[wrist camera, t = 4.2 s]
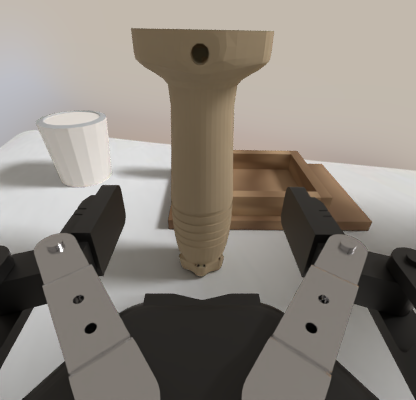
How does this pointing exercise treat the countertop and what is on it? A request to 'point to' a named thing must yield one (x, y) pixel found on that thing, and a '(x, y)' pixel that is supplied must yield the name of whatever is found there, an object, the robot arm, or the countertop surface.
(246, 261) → the countertop surface
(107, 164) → the white faceted cup
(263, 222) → the seat board
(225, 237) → the handle
